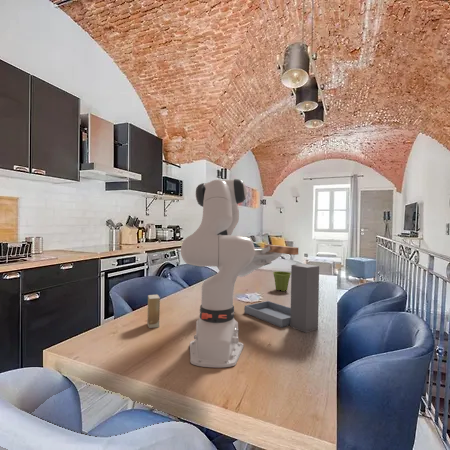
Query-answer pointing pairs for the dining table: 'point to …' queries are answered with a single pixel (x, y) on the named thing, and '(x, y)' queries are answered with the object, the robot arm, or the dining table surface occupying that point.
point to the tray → (270, 313)
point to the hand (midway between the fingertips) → (273, 247)
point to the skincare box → (153, 311)
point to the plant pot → (281, 280)
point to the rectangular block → (283, 249)
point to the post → (304, 297)
